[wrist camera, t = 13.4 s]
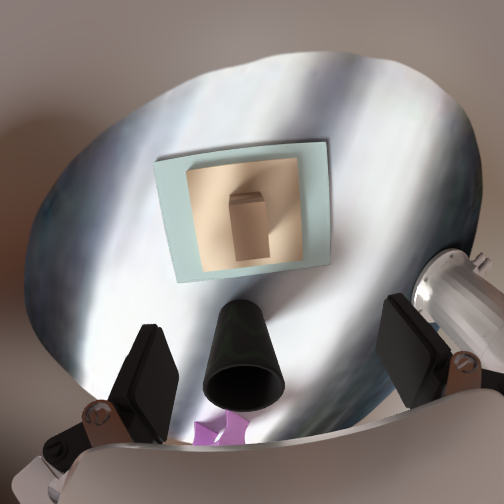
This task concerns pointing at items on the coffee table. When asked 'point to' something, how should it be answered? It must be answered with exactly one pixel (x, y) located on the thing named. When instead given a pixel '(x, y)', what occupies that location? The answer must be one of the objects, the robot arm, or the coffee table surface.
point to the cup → (242, 361)
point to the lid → (247, 213)
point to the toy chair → (231, 435)
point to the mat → (308, 157)
